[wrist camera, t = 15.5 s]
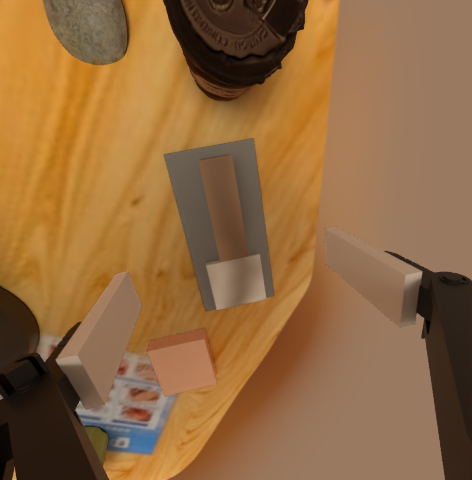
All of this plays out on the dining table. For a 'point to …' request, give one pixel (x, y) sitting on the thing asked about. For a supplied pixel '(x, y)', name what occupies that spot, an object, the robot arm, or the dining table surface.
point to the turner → (229, 238)
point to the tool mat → (197, 212)
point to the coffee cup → (234, 40)
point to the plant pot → (98, 441)
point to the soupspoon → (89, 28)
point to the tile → (182, 362)
